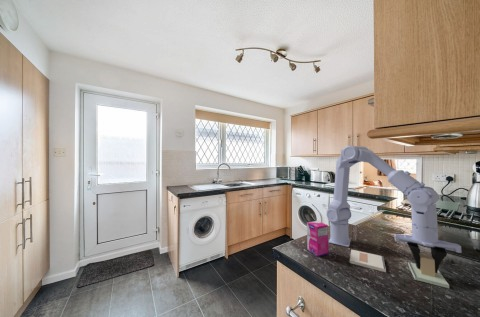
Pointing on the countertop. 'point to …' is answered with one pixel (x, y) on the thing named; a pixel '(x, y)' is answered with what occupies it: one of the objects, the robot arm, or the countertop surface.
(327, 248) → the supplement box
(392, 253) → the countertop surface
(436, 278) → the block on white base
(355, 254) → the board
